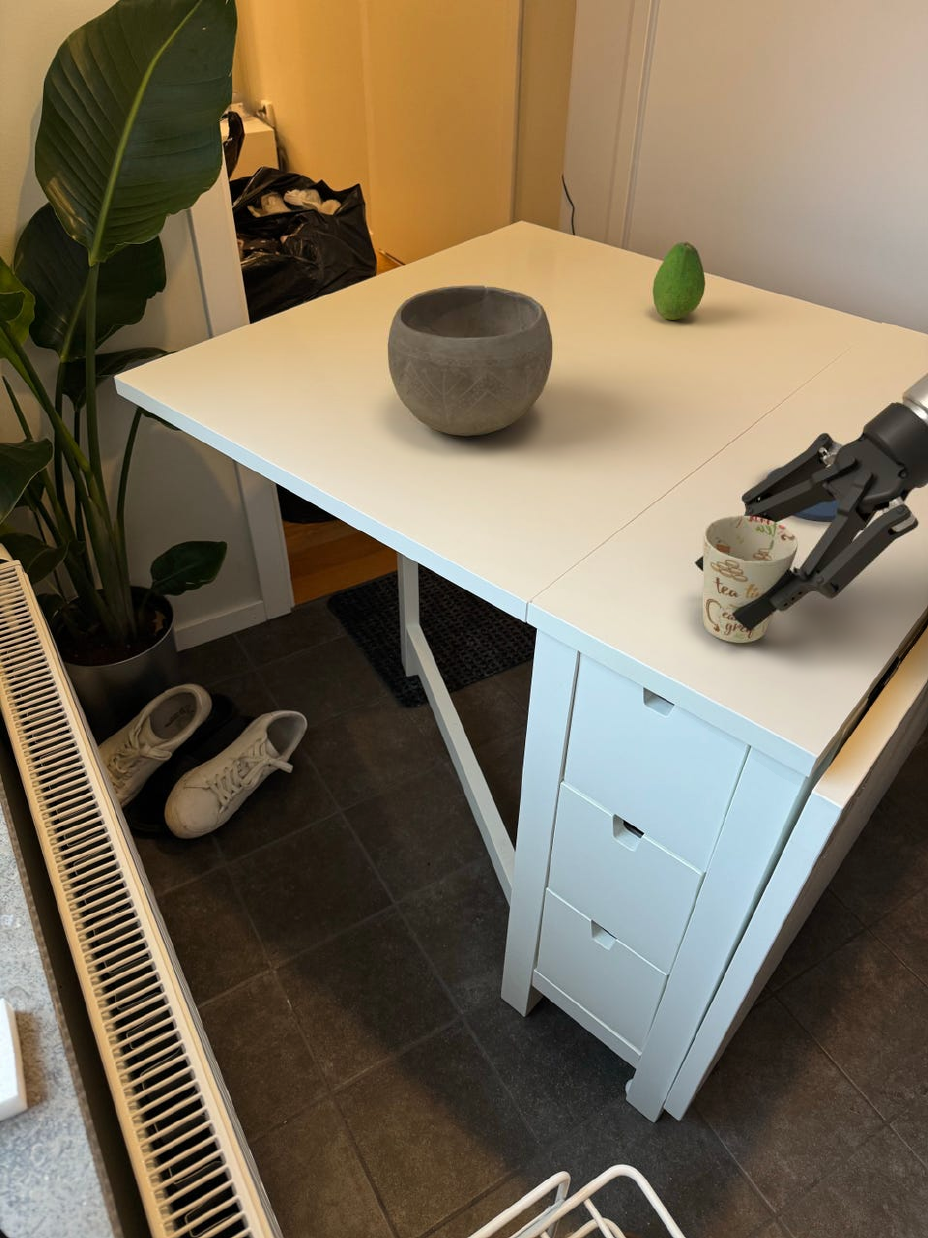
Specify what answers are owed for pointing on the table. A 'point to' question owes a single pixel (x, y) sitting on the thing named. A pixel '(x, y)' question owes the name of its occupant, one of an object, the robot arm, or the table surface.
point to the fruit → (679, 282)
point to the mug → (741, 571)
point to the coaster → (818, 509)
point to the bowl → (469, 357)
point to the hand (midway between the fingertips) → (721, 595)
